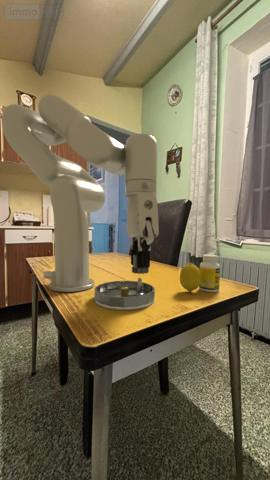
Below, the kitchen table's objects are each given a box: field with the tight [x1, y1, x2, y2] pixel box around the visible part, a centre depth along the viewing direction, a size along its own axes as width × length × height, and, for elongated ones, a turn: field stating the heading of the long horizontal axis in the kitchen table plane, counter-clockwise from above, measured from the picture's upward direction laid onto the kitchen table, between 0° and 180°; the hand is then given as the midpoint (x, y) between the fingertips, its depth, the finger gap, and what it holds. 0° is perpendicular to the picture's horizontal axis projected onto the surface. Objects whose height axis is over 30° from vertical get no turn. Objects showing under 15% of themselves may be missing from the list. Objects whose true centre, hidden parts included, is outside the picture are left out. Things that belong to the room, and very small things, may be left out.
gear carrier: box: [94, 277, 156, 312], centre depth 52 cm, size 14×14×5 cm
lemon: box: [179, 262, 201, 293], centre depth 58 cm, size 6×6×8 cm
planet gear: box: [131, 254, 150, 275], centre depth 53 cm, size 4×4×4 cm
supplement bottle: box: [198, 254, 221, 293], centre depth 61 cm, size 5×5×10 cm
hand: (140, 265), depth 53 cm, fingers closed on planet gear, 3 cm apart
